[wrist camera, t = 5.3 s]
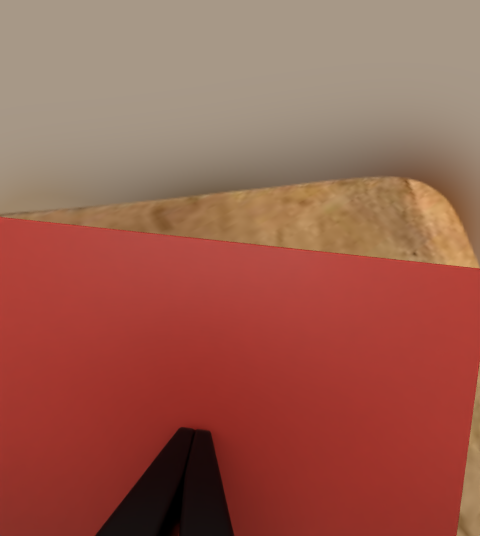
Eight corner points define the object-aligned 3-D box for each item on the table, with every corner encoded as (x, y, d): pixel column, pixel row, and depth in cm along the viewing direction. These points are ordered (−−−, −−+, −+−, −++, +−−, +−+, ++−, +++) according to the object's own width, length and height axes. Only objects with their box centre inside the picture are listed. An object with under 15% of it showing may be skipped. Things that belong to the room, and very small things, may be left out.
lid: (-28, 215, 10) (-53, 211, 9) (472, 269, 9) (493, 269, 9) (-57, 566, 10) (-83, 593, 9) (424, 626, 10) (440, 659, 9)
